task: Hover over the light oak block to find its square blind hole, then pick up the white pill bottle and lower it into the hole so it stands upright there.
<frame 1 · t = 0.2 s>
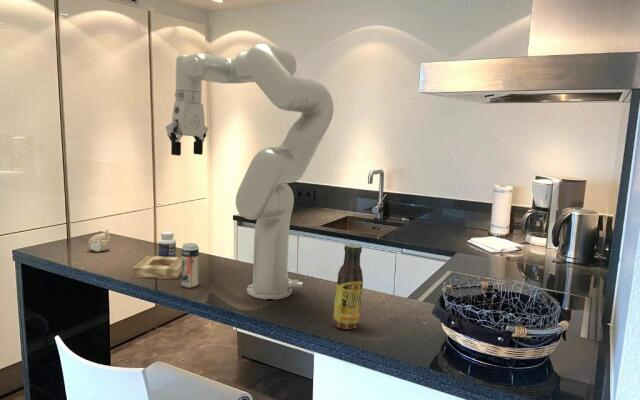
hand: (187, 154, 145), 36 cm above the countertop, tool pointing down, fingers open, 9 cm apart
socket block: (161, 271, 146), on the countertop
sauce bottle: (346, 326, 113), on the countertop
pill bottle: (167, 261, 157), on the countertop
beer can: (189, 286, 135), on the countertop
garlic bulb: (99, 251, 165), on the countertop
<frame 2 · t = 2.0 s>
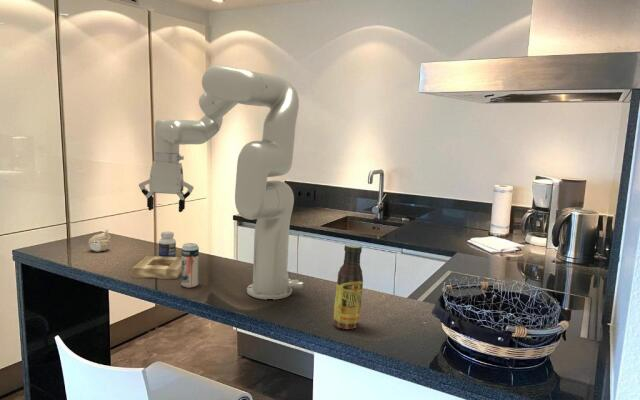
hand: (166, 210, 154), 17 cm above the countertop, tool pointing down, fingers open, 9 cm apart
nothing on the countertop moved.
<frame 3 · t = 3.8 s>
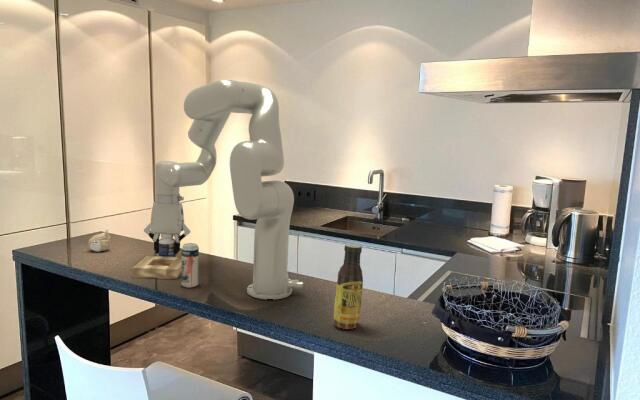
hand: (167, 252, 157), 3 cm above the countertop, tool pointing down, fingers closed on pill bottle, 5 cm apart
pill bottle: (167, 261, 157), on the countertop, touching gripper
everything else where it was.
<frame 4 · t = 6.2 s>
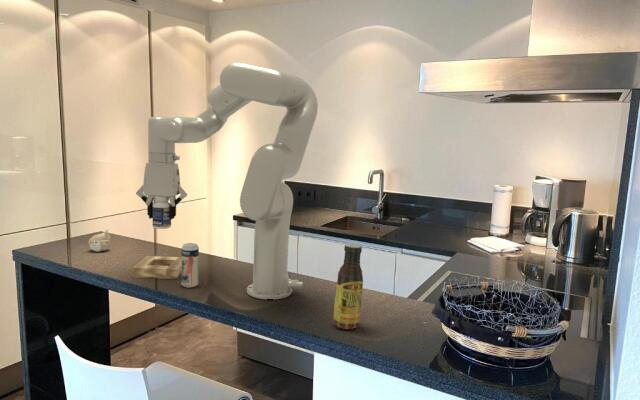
hand: (161, 217, 144), 17 cm above the countertop, tool pointing down, fingers closed on pill bottle, 5 cm apart
pill bottle: (161, 227, 144), point 14 cm above the countertop, touching gripper
everything else where it was.
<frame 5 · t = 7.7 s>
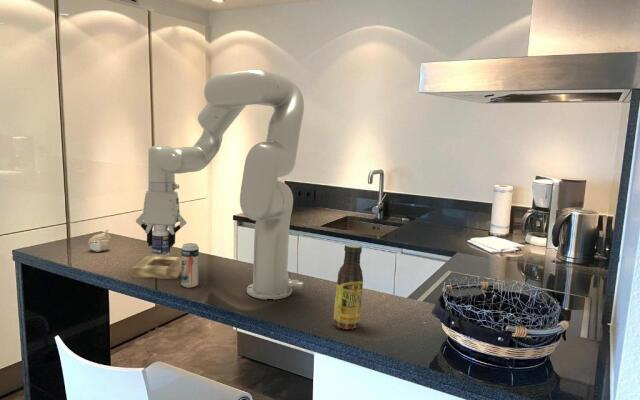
hand: (161, 245, 145), 8 cm above the countertop, tool pointing down, fingers closed on pill bottle, 5 cm apart
pill bottle: (161, 255, 145), point 5 cm above the countertop, touching gripper
everything else where it was.
when the fingers open (5 cm above the countertop, at t = 8.9 s): pill bottle stays where it is, resting on socket block.
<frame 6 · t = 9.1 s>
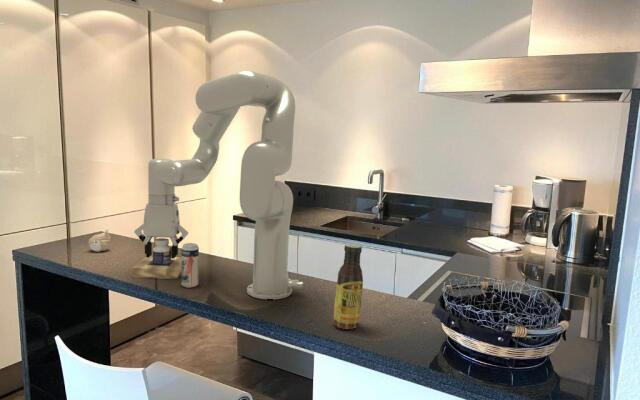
hand: (161, 256, 145), 5 cm above the countertop, tool pointing down, fingers open, 7 cm apart
pill bottle: (162, 270, 146), resting on socket block
everything else where it was.
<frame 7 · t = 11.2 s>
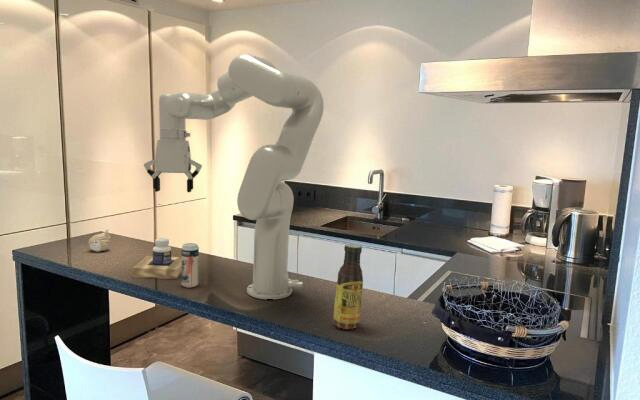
hand: (173, 191, 146), 25 cm above the countertop, tool pointing down, fingers open, 9 cm apart
nothing on the countertop moved.
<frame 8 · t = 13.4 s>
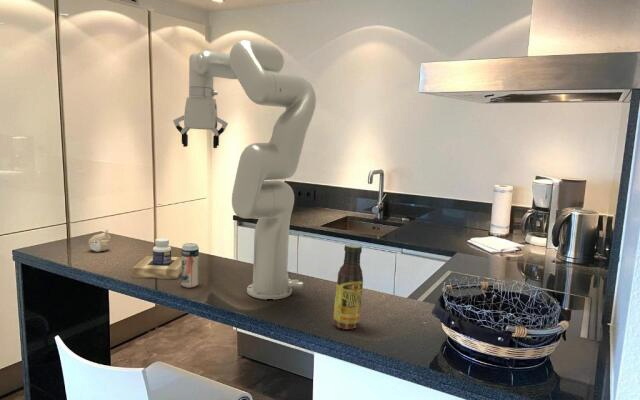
hand: (200, 147, 154), 38 cm above the countertop, tool pointing down, fingers open, 9 cm apart
nothing on the countertop moved.
at the end: pill bottle 0.2 cm off-centre on the socket block, point 0.3 cm above the socket block's base; pill bottle tilted 0°; the gripper is holding nothing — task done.
